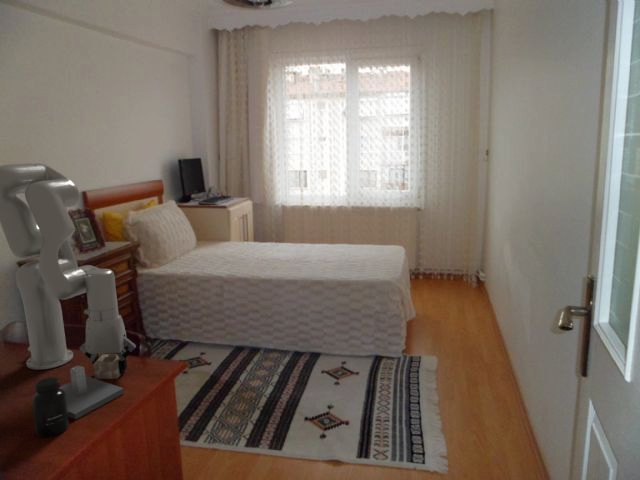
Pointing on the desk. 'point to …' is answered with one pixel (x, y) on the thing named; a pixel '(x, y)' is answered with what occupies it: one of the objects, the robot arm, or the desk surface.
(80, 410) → the hub plate
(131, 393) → the desk surface
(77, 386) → the steel post
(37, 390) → the supplement bottle
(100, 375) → the beige block with hole
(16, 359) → the desk surface
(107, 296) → the robot arm
